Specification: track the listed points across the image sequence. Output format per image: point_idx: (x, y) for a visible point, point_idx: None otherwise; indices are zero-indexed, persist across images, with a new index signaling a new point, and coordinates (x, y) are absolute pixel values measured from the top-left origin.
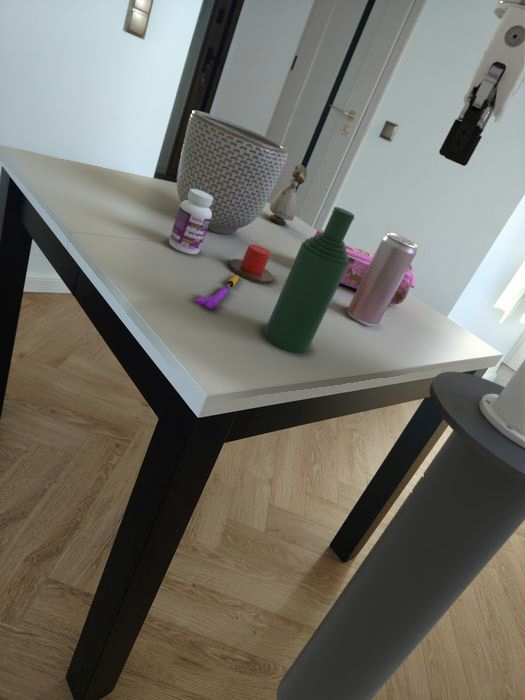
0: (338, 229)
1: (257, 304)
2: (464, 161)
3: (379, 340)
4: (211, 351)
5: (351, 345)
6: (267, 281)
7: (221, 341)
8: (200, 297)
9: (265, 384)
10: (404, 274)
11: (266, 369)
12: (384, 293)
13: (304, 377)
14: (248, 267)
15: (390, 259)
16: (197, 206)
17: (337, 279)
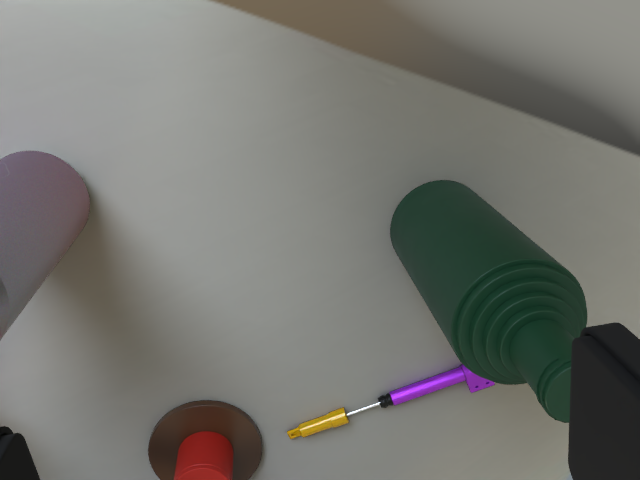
0: None
1: (351, 342)
2: (618, 326)
3: (119, 105)
4: (625, 262)
5: (267, 137)
6: (215, 404)
7: (578, 276)
8: (476, 389)
9: (637, 158)
10: None
11: (588, 184)
12: (42, 196)
13: (543, 130)
14: (232, 455)
15: (24, 269)
16: None
17: (526, 244)
